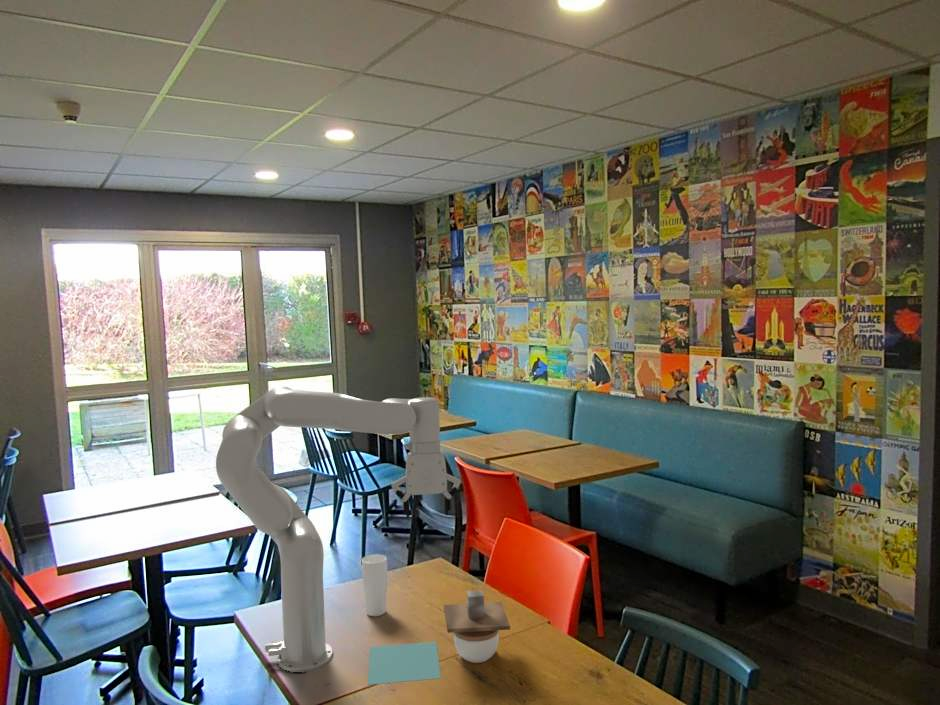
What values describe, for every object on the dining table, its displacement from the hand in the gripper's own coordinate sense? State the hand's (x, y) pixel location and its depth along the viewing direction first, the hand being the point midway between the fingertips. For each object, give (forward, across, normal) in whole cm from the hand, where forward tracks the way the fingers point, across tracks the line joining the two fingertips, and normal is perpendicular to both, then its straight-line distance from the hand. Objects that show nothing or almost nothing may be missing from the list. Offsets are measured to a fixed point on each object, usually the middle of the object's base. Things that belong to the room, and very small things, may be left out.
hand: (427, 514), depth 163 cm
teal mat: (+30, -7, -14) cm, 34 cm away
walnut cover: (+21, +10, -14) cm, 27 cm away
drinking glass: (+31, -14, +13) cm, 36 cm away
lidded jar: (+31, +10, -14) cm, 35 cm away
